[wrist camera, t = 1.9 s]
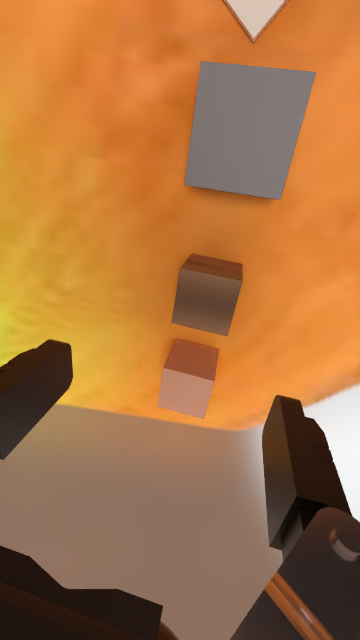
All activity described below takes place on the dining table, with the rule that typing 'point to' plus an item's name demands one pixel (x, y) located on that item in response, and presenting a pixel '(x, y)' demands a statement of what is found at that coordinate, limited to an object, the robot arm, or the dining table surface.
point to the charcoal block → (246, 127)
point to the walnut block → (207, 294)
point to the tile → (255, 14)
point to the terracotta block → (188, 378)
